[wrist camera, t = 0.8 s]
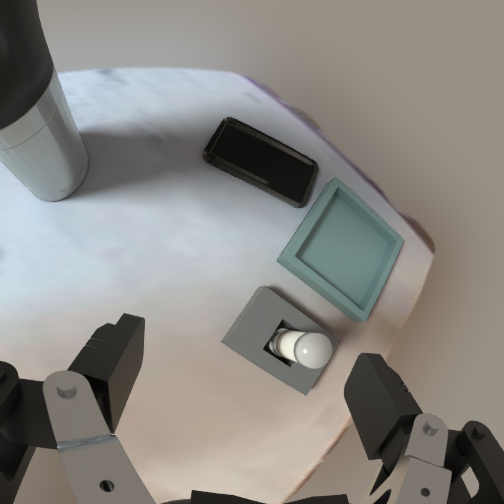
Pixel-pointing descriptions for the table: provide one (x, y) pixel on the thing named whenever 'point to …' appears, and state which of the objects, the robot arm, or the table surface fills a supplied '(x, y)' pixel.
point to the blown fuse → (301, 347)
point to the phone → (261, 161)
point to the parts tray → (343, 251)
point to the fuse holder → (261, 329)
